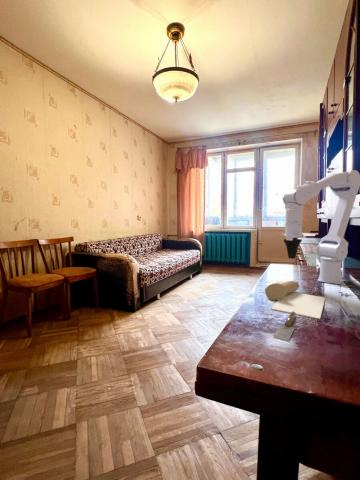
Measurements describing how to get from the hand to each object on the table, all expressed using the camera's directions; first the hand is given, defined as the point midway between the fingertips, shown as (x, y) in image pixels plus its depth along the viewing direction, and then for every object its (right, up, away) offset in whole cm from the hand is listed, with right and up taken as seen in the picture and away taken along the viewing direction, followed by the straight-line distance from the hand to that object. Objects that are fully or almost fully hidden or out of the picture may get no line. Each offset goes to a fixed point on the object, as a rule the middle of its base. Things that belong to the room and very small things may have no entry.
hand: (291, 258), depth 93 cm
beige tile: (-2, -11, +2) cm, 11 cm away
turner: (-17, -14, -36) cm, 42 cm away
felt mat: (-6, -12, -19) cm, 23 cm away
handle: (-2, -9, -6) cm, 11 cm away
